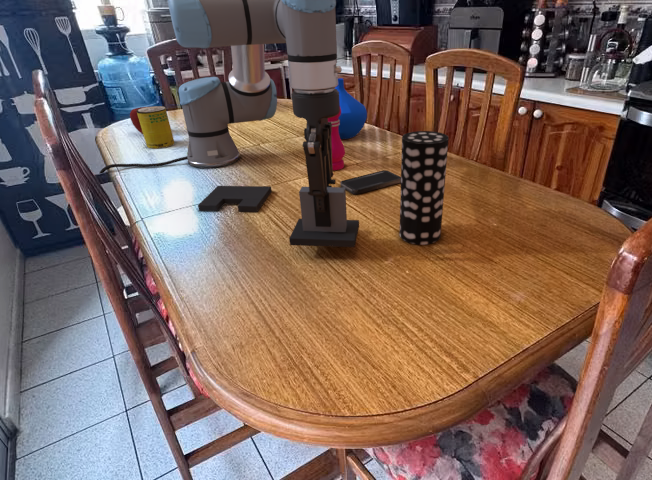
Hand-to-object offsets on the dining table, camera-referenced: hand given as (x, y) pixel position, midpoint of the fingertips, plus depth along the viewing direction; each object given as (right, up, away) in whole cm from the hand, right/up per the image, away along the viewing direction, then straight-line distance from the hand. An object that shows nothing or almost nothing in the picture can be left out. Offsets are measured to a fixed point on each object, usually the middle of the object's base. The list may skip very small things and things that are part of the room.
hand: (324, 221), depth 78 cm
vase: (-1, +36, +72) cm, 80 cm away
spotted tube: (+19, -2, +7) cm, 20 cm away
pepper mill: (-2, +19, +44) cm, 48 cm away
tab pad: (0, -2, +3) cm, 3 cm away
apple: (-74, +39, +80) cm, 116 cm away
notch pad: (-24, +7, +24) cm, 34 cm away
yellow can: (-63, +31, +67) cm, 97 cm away
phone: (+9, +12, +31) cm, 35 cm away
